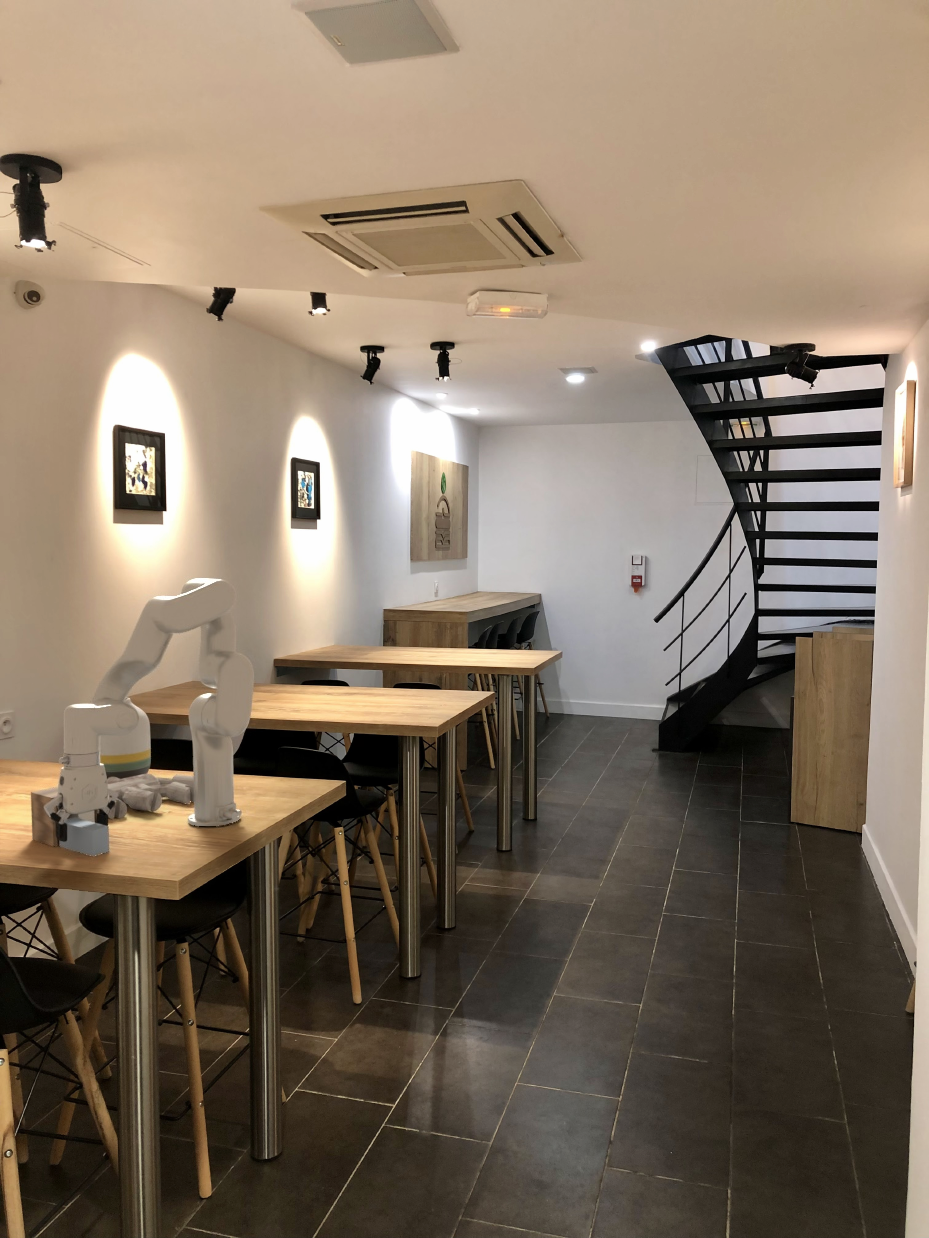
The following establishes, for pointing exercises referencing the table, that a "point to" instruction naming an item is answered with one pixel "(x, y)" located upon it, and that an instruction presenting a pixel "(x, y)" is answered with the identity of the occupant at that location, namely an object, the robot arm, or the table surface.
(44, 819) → the open wooden box
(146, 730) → the vase
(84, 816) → the block
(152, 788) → the white branched piece
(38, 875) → the table surface
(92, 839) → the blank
